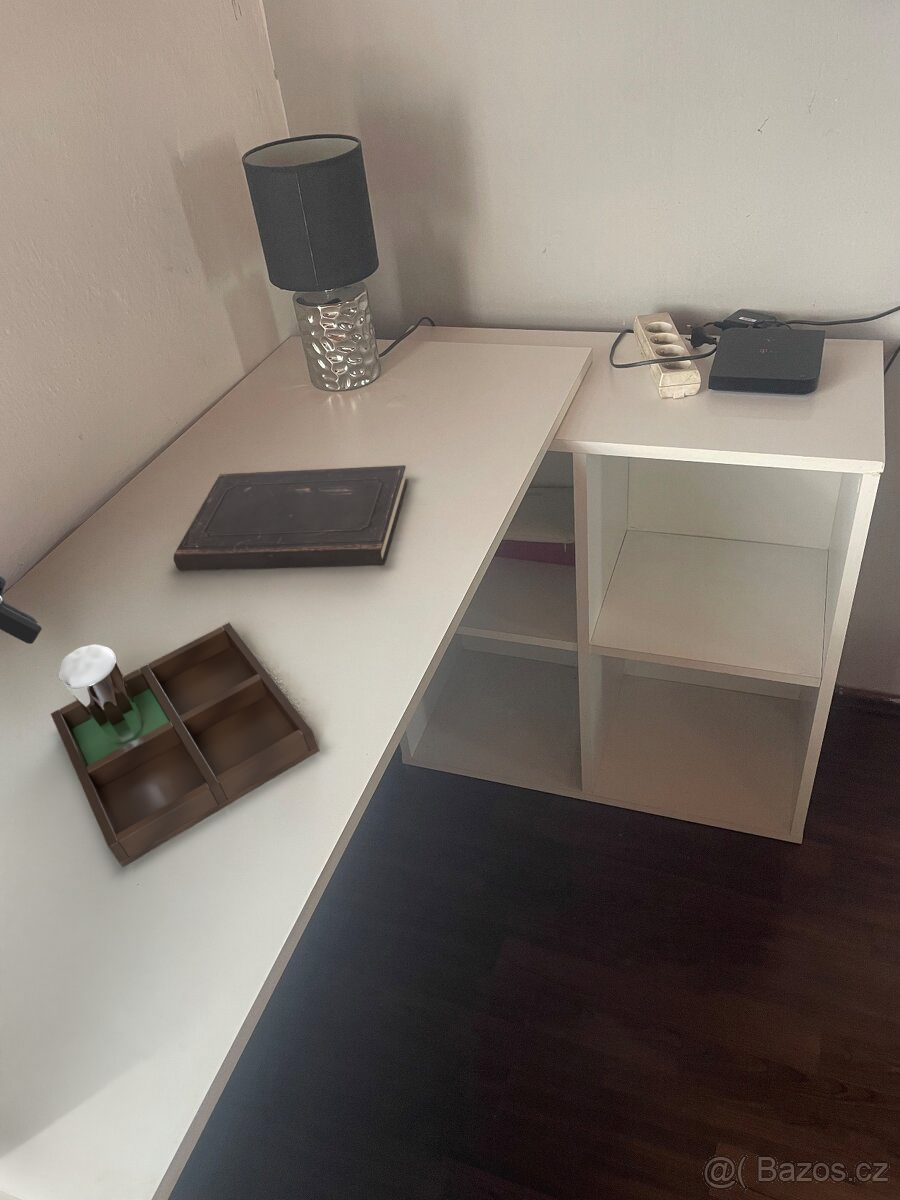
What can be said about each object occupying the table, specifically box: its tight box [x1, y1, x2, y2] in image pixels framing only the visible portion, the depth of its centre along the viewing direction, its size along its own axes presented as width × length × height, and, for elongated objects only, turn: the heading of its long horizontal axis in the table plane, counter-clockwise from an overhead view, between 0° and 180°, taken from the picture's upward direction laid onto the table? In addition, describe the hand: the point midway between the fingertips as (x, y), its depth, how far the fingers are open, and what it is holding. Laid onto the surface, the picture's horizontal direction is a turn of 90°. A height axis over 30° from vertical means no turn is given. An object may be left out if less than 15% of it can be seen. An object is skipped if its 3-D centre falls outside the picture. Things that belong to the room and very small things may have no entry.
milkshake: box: [50, 644, 142, 743], centre depth 73 cm, size 5×5×10 cm
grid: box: [50, 621, 320, 868], centre depth 74 cm, size 17×17×3 cm
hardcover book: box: [173, 465, 409, 572], centre depth 97 cm, size 16×23×2 cm
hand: (13, 671), depth 72 cm, fingers open, 8 cm apart
